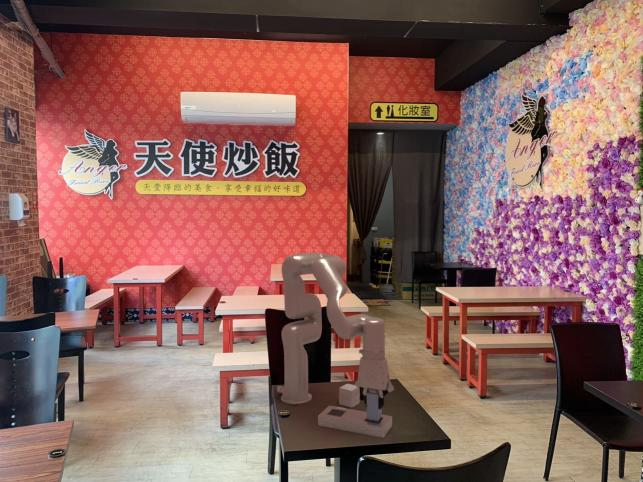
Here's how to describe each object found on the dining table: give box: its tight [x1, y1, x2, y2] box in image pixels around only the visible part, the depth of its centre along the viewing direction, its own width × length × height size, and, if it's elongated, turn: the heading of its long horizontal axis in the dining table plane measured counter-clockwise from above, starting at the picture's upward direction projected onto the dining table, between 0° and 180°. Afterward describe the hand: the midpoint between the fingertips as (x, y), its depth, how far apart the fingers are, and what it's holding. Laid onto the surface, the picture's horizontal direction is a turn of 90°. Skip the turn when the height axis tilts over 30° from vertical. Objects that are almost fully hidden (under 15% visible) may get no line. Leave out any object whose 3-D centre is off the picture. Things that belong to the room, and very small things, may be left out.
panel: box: [317, 405, 393, 439], centre depth 165 cm, size 24×10×4 cm, turn 65°
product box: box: [338, 383, 361, 409], centre depth 185 cm, size 6×6×7 cm
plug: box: [366, 389, 383, 421], centre depth 162 cm, size 4×4×10 cm
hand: (374, 406), depth 162 cm, fingers closed on plug, 4 cm apart
